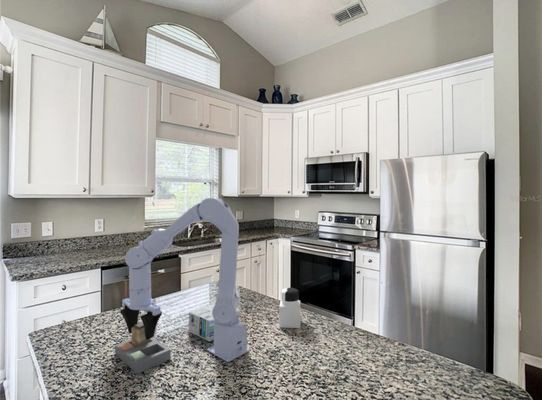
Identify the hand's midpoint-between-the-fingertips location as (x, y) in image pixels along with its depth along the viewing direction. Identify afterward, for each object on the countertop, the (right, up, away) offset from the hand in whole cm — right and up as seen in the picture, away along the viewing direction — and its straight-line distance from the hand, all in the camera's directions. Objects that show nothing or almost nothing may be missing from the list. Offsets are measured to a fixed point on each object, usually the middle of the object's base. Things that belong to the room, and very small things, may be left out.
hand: (141, 334), depth 85 cm
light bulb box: (+14, -1, +15) cm, 21 cm away
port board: (+2, -5, -3) cm, 6 cm away
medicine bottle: (+44, -4, +17) cm, 48 cm away
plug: (0, -4, 0) cm, 4 cm away
